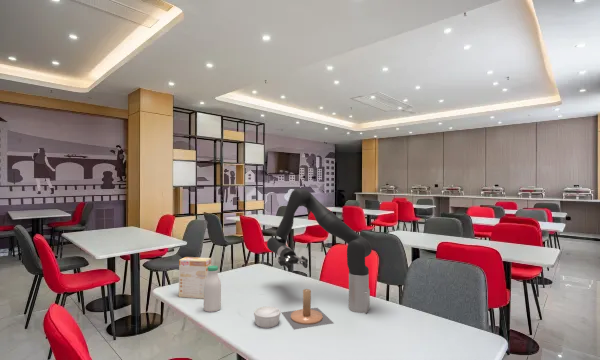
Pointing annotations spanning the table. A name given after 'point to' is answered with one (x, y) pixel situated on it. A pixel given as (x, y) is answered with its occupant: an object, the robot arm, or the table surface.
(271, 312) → the ramekin
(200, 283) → the coffeecake box
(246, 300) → the table surface
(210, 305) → the milk bottle
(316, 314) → the lid
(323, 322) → the mat
